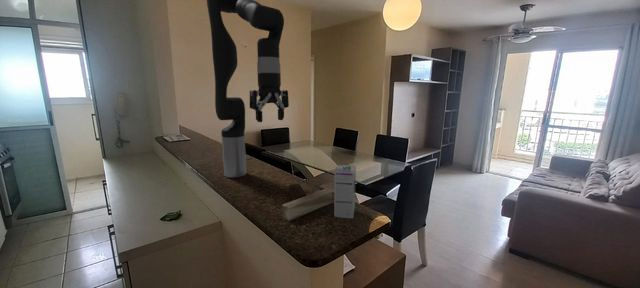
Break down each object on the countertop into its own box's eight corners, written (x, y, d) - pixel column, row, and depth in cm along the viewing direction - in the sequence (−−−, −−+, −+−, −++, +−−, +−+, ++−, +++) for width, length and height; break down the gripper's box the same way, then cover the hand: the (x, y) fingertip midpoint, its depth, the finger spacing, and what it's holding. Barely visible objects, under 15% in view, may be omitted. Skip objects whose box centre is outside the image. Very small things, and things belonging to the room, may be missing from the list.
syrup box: (353, 219, 77) (355, 171, 74) (333, 217, 78) (334, 170, 75) (354, 210, 82) (356, 165, 79) (336, 208, 83) (337, 164, 80)
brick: (288, 196, 93) (288, 184, 92) (299, 195, 94) (299, 183, 93) (295, 209, 83) (295, 196, 82) (307, 208, 84) (307, 194, 83)
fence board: (282, 217, 77) (282, 204, 77) (325, 200, 90) (325, 188, 89) (289, 221, 75) (288, 208, 74) (331, 202, 88) (331, 191, 87)
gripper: (279, 73, 95) (280, 118, 98) (243, 71, 85) (246, 121, 88) (293, 72, 90) (293, 120, 93) (256, 70, 80) (258, 123, 83)
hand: (270, 120), depth 91 cm, fingers open, 8 cm apart
